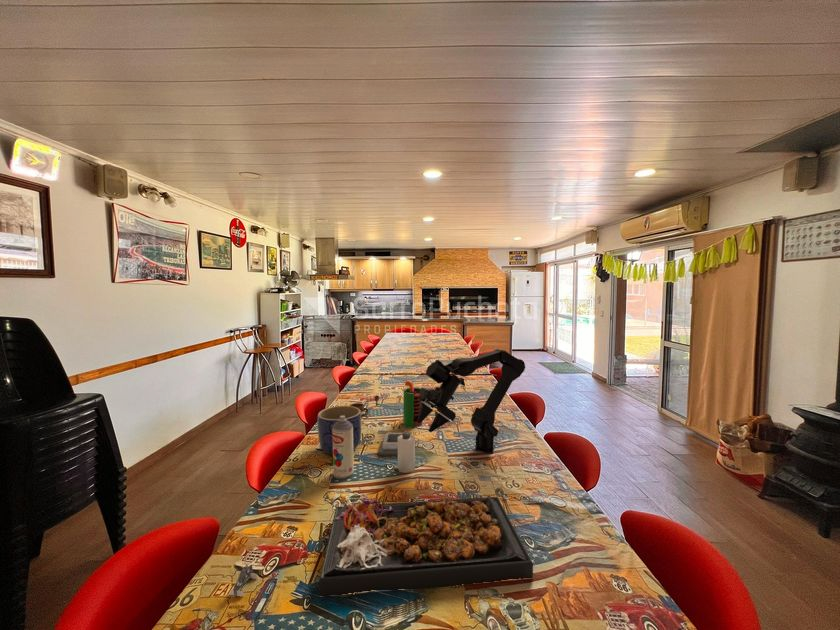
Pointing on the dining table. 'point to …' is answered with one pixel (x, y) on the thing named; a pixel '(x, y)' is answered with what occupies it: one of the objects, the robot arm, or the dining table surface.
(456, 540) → the food platter
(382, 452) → the grey square tray
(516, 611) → the dining table surface
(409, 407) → the motor
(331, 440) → the planter
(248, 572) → the toy shark
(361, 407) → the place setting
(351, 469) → the aerosol can
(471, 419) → the robot arm
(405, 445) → the white bottle
